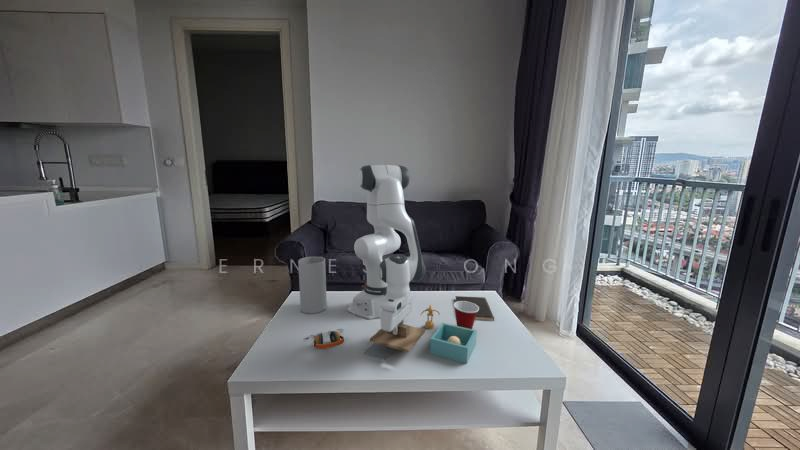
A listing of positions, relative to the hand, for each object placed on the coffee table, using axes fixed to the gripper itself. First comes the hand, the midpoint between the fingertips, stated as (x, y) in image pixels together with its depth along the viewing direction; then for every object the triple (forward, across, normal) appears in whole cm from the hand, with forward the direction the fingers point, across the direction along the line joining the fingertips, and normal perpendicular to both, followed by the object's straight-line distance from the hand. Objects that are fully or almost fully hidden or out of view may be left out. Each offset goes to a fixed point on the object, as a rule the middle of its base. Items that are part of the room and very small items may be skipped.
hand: (397, 331), depth 125 cm
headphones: (+7, +10, -27) cm, 29 cm away
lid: (+2, 0, 0) cm, 2 cm away
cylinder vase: (+7, -13, -53) cm, 55 cm away
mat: (+7, 0, 0) cm, 7 cm away
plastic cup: (+7, -25, +20) cm, 33 cm away
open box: (+7, -8, +20) cm, 23 cm away
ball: (+6, -8, +20) cm, 22 cm away
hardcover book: (+8, -49, +18) cm, 53 cm away
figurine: (+7, -19, +6) cm, 21 cm away
